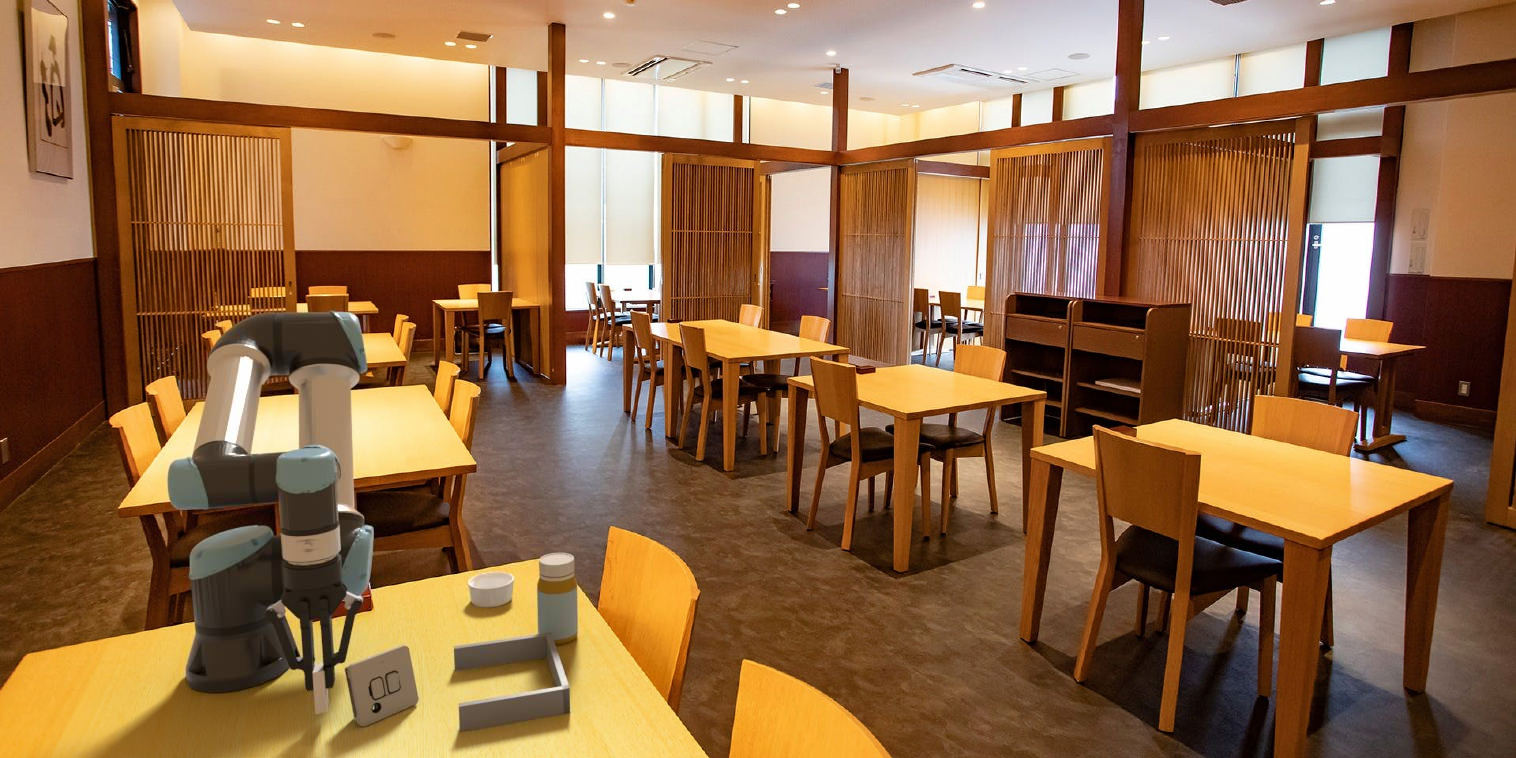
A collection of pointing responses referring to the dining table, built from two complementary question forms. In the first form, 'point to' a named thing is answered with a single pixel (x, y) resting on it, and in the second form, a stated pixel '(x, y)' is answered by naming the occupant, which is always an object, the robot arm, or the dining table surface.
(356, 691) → the electrical switch
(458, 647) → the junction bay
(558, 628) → the bottle
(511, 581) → the ramekin
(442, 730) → the dining table surface
